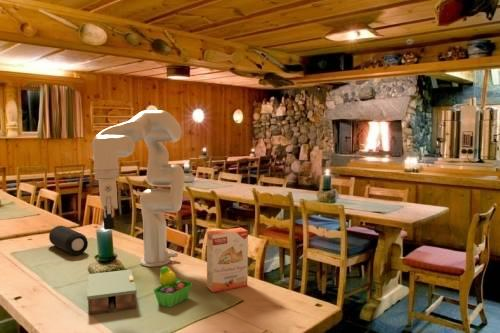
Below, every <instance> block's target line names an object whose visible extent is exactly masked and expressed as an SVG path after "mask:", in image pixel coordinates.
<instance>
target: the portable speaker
mask: <svg viewBox="0 0 500 333" xmlns="http://www.w3.org/2000/svg"><path fill="white" fill-rule="evenodd" d="M48 234H49V235H48V238H49V239H48V240H49V242H50V243H51V244H52V245H54V246H56V247H57V248H59V249H61V250H63V251H64V252H66V253H68V254H70V255H73V256H77V255H80V254H83V253H84V252H85V251H86V250H87V248H88V245H89V242H88V238H87V236H86V235H85V234H83V233H81V232H78V231H76V230H73V229H72V228H69V227H67V226H65V225H57V226H54V227H53V228H52V229H51V230H50V232H49V233H48Z"/></svg>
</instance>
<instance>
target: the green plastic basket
mask: <svg viewBox="0 0 500 333" xmlns="http://www.w3.org/2000/svg"><path fill="white" fill-rule="evenodd" d="M159 275H160V276H159V283H160V286H158V287H156V288H154V289H153V293H154V295H155V298H156V301H157V303H158V305H161V306H163V307H166V308H167V307H168V308H171V307H173V306H175V305H177V304H179V303H180V302H182V301H184V300H187V299H188V298H189V294H190V291H191V287H192V285H193V283H192V282H190V281H184V280H182V279H177V275H176V273H175V272H174V271H173V270H172V269H171V268H170V267H168V266H161V268H160V272H159Z"/></svg>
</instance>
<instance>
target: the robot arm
mask: <svg viewBox="0 0 500 333" xmlns="http://www.w3.org/2000/svg"><path fill="white" fill-rule="evenodd" d="M182 132H183V131H182V127H181V125H180V123H179V122H178V120H176V118H175V117H174V116H173V115H172V114H171V113H170V112H168V111H166V110H163V109H160V110H142V111H140V112H138V113H137V114H136V115H134V116H133V117H131V118H130V119H129V120H128V121H125V122H122V123H119V124H116V125H112V126H109V127H107V128H105V129H103V130H101V131H100V132H98V133H97V134H96V135H94V137H93V140H92V142H91V151H92V153H93V169H94V170H93V171H94V180H95V181H98V187H99V188H98V189H99V200H100V205H101V206H100V207H101V209H102V210H103V217H102V218H103V229H104V230H114V229H115V217H114V209H115V210H117V209H118V208H119V207H118V206H119V205H118V191H117V189H118V188H117V181H116V180H118V179H120V177H119V175H120V172H119V158H126V157H130V156H131V155H133V153H134V152H135V147H136V144H135V143H138V142H141V141H143V140H144V143H145V145H146V148H147V150H148V158H147V159H148V160H147V170H146V182H147V184H148V185H150V186H153V187H170V189H169V188H168V189H166V188H164V189H163V188H150V189H149V188H148V189H145V190H143V191H142V192H141V194H140V196H139V203H140V209H141V214H142V225H143V226H142V228H143V230H142V233H143V235H142V236H143V257H142V258H141V259H140V260H139V263H140V265H142V266H144V267H164V266H166V265H168V264H169V263H170V262H171V258H177V257H179V253H178V251H175V252H174V251H168V250H167V249H168V248H167V221H166V218H165V216H164V215H163V213H177V212H179V211H180V210H181V208H182V203H183V196H184V187H185V172H184V168H183V167H182V166H181V165H179V164H175V163H173V164H172V163H171V164H170V163H169V157H170V153H169V151H168V149H167V147H166V146H165V145H164V144H163V143H176V142H178V141H180V140H181V138H182Z"/></svg>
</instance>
